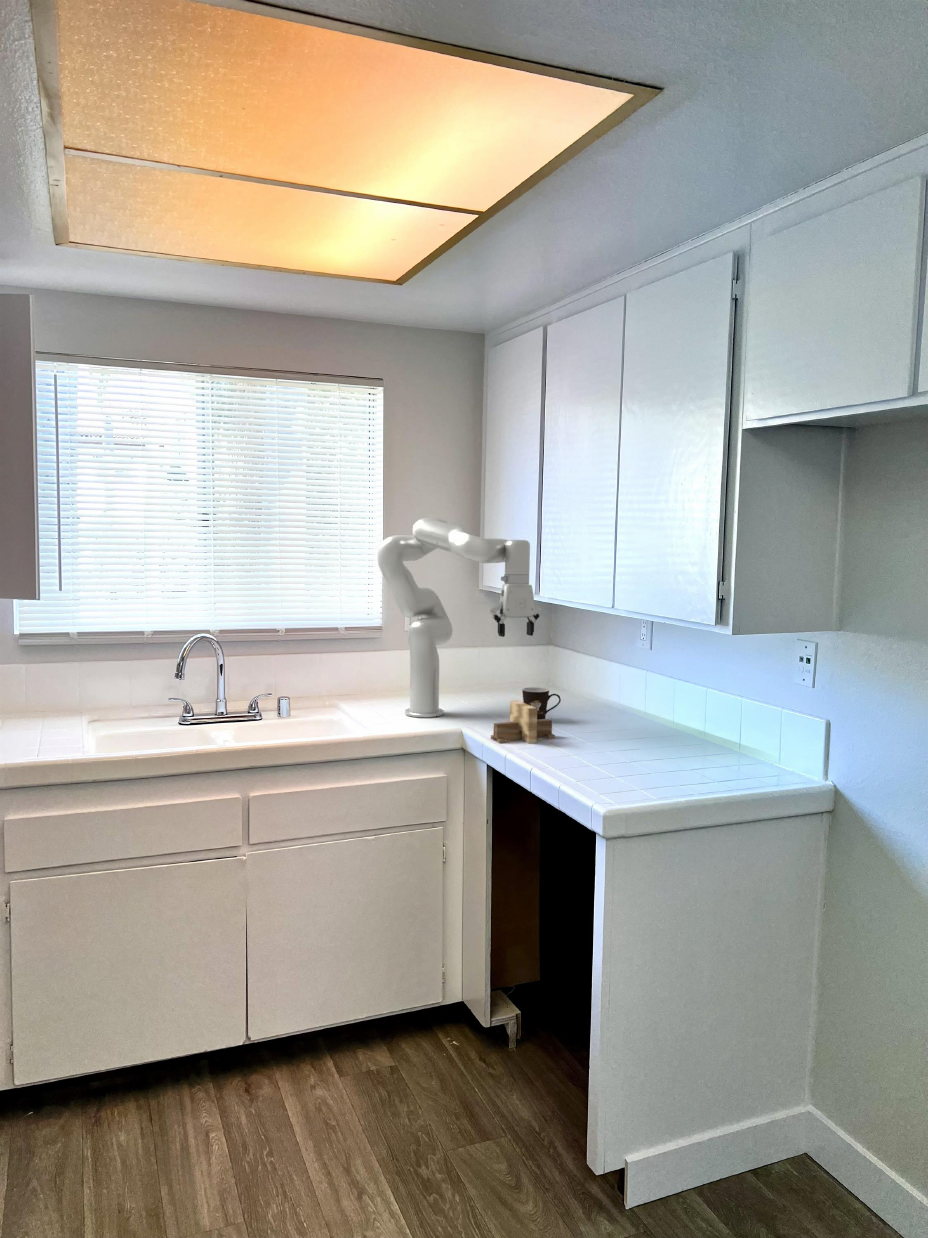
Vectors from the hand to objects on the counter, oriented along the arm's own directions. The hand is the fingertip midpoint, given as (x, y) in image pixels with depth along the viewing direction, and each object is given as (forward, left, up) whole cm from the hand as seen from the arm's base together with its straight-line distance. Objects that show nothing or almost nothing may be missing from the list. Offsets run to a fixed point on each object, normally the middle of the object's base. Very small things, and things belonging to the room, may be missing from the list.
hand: (515, 635), depth 279 cm
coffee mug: (-4, +11, -28) cm, 31 cm away
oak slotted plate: (+16, -5, -28) cm, 33 cm away
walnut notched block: (+16, -5, -28) cm, 33 cm away
